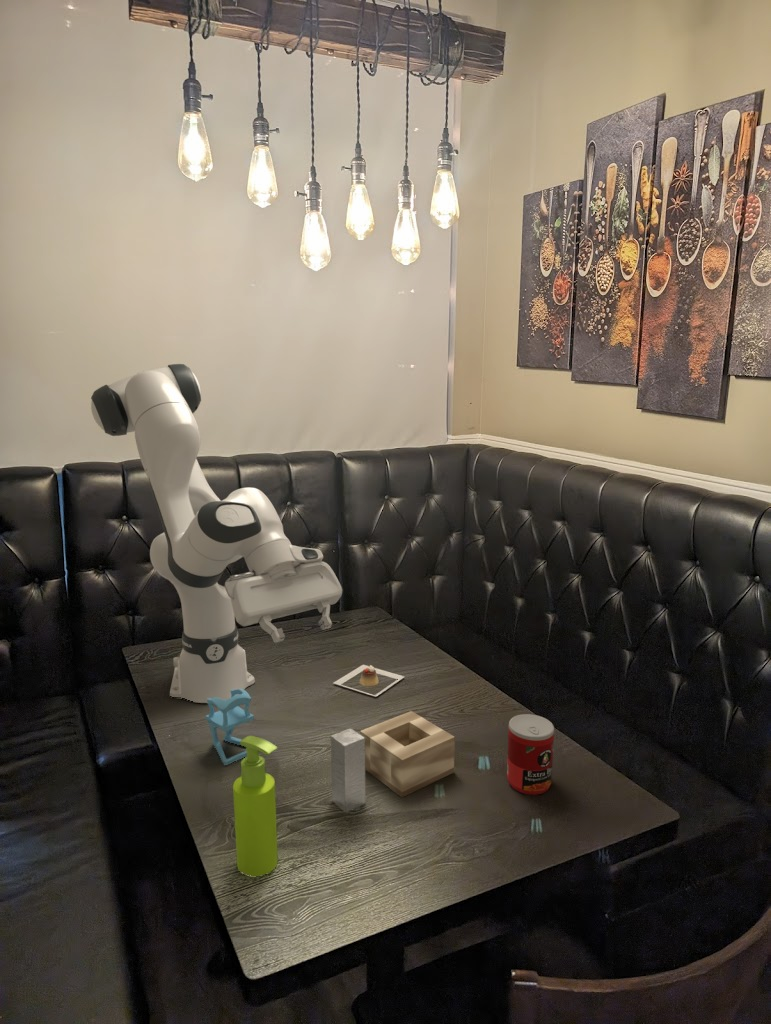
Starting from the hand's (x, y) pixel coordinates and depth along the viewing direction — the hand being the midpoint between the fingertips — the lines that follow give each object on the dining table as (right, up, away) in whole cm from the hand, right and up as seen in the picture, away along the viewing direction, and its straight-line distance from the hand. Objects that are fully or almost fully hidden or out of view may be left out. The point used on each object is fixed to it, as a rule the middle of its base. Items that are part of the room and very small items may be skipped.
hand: (304, 633), depth 121 cm
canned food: (+39, -26, +2) cm, 47 cm away
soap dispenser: (-4, -31, -18) cm, 36 cm away
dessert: (+10, -19, +40) cm, 46 cm away
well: (+18, -25, +6) cm, 32 cm away
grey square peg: (+8, -27, -4) cm, 29 cm away
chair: (-15, -24, +12) cm, 31 cm away
